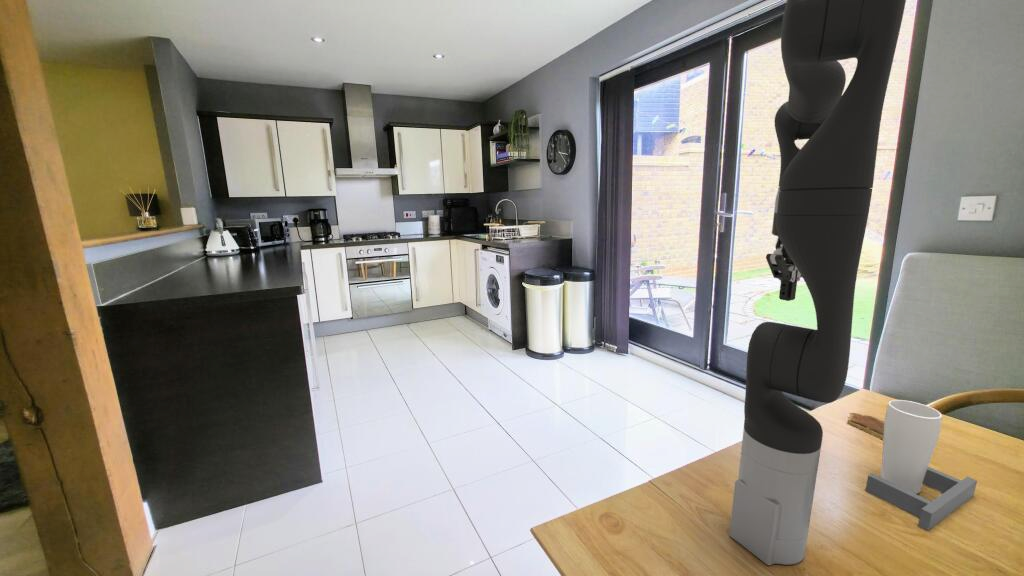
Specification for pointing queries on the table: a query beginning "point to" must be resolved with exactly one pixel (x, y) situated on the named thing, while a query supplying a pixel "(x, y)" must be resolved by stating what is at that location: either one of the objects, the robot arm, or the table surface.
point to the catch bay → (925, 509)
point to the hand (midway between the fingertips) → (786, 299)
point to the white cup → (909, 443)
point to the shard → (867, 424)
